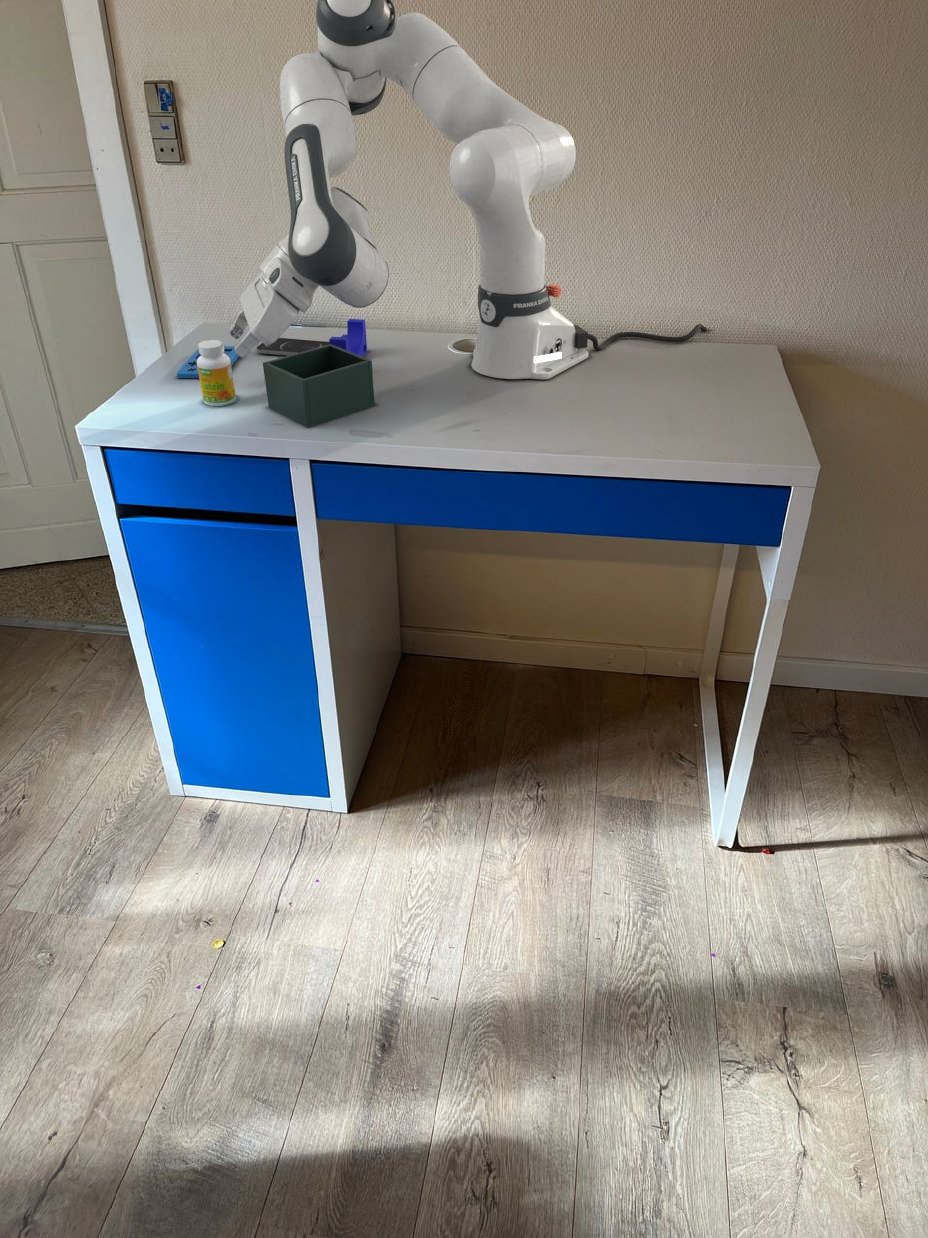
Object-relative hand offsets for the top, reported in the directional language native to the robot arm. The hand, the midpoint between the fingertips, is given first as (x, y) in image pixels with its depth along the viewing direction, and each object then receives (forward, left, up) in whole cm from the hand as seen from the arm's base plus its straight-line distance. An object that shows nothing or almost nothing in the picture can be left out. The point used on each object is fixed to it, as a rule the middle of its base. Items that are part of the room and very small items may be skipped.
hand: (235, 344), depth 153 cm
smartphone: (-20, -13, -9) cm, 26 cm away
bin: (-7, +13, -9) cm, 17 cm away
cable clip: (-23, -2, -9) cm, 25 cm away
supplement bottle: (+4, -1, -9) cm, 10 cm away
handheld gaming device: (-4, -18, -9) cm, 21 cm away
